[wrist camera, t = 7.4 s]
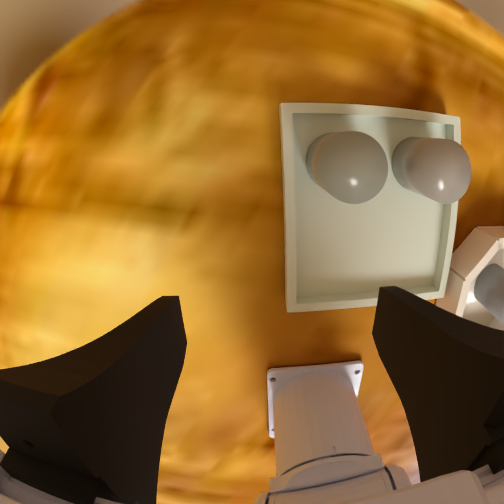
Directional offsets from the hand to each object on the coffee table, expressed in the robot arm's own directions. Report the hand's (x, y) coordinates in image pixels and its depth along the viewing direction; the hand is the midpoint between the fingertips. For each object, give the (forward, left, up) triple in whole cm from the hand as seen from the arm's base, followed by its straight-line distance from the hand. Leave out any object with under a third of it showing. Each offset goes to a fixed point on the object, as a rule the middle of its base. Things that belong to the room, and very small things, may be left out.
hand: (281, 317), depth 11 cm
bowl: (-5, -18, -10) cm, 22 cm away
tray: (+2, -7, -10) cm, 12 cm away
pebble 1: (+5, -4, -9) cm, 11 cm away
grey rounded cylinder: (-5, -19, -9) cm, 21 cm away
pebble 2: (+5, -10, -9) cm, 14 cm away
